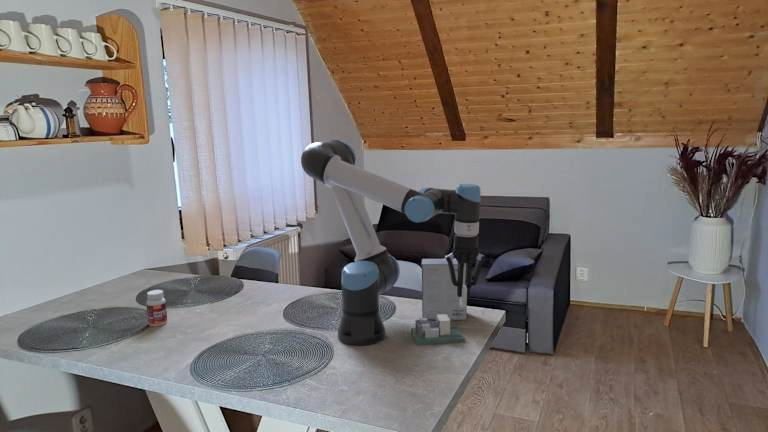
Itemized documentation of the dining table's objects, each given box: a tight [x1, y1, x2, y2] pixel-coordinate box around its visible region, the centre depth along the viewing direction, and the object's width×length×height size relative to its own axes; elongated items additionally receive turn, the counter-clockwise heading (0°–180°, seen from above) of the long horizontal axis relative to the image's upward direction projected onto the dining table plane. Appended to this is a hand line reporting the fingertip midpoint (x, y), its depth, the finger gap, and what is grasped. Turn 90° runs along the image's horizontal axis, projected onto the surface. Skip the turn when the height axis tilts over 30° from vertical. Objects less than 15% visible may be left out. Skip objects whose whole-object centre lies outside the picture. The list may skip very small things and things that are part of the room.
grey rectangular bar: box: [416, 320, 440, 327], centre depth 173 cm, size 9×3×1 cm, turn 96°
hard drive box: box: [421, 258, 468, 321], centre depth 190 cm, size 16×8×20 cm, turn 84°
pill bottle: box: [145, 289, 168, 327], centre depth 188 cm, size 6×6×11 cm
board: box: [411, 317, 465, 346], centre depth 174 cm, size 15×11×5 cm
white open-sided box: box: [436, 314, 451, 335], centre depth 174 cm, size 3×5×5 cm, turn 6°
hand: (462, 306), depth 174 cm, fingers closed
